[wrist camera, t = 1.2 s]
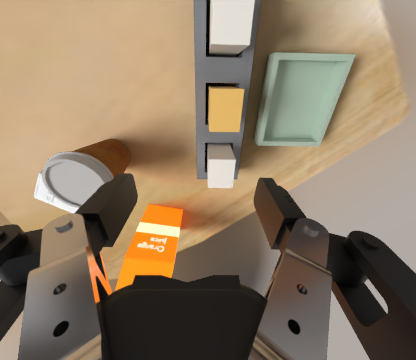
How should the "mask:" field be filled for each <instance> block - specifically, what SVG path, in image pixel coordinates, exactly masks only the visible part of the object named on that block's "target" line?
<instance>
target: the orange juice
mask: <svg viewBox="0 0 416 360" xmlns="http://www.w3.org/2000/svg"><path fill="white" fill-rule="evenodd" d="M182 213H183V210H182V209H176V208H169V207H163V206H156V205H150V204H148V207H147V209H146V211H145V213H144V215H143V218H142V220H141V222H140V224H139V226H138V228H137V230H136V233H135V236H134V238H133V240H132V242H131V244H130V247H129V249H128V251H127V253H126V256H125V258H124V262H123V265H122V269H121V272H120V276H119V279H118V283H117V287H116V290H118V289H120V288H122V287H125V286H127V285H130V284H132V283H133V280H134V277H135V275H163V276H166V277H170V278H171V277H172V272H173V266H174V261H175V255H176V249H177V243H178V238H179V232H180V225H181V219H182ZM116 290H115V291H116Z"/></svg>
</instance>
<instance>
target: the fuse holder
mask: <svg viewBox="0 0 416 360" xmlns="http://www.w3.org/2000/svg"><path fill="white" fill-rule="evenodd" d="M260 3H261V0H255V3H254V11H253V20H252V28H251V37H250V45H249V46H248V47H246V48H245V49H244V50H243V51H241V52H240V53H239V54H238V58H230V57H206V6H210V0H194V44H195V94H196V145H197V179H208V175H207V164H205V143H230V146H231V148H232V151H233V154H234V156H235V159H236V163H235V171H234V179H237V177H238V170H239V162H240V155H241V147H242V139H243V132H244V124H245V117H246V109H247V101H248V94H249V86H250V79H251V71H252V63H253V56H254V48H255V41H256V33H257V26H258V18H259V10H260ZM206 83H235V87H237V88H242V89H244V96H243V105H242V113H241V122H240V130H239V132H209V124H208V120H205V90H206Z"/></svg>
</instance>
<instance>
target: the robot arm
mask: <svg viewBox="0 0 416 360" xmlns="http://www.w3.org/2000/svg"><path fill="white" fill-rule="evenodd" d="M137 198H138V195H137V190H136V186H135V181H134V177H133V175H132V174H126V173H118V174H117V175H116V176H115V177H114V178H113V179H112V180H111V181H108V182H106V183H105V184H103V185H101V186H100V187H99V188H98V189H97V190H96V192H94V193H93V194H92V195H91V197H90V198H89V199H88V200H87V201H86V202H85V203H84V204H83V205H82V206H81V207H80V208H79V209H78V210H77V211H76V212H75V213H74V214H67V215H63V216H61V217H58V218H56V219H54V220H53V221H51V222H50V223H48V224H47V225H46V226H45V227H44V229H40V230H35V231H30V232H25V233H24V232H23V230H22V229H21V228H20V227H19V226H18V225H5V226H0V279H1V282H0V341H1V340H2V338H3V337H4V336H5V334H6V333H7V331H8V330H9V329H10V327H11V326H12V325H13V323H14V322H15V321H16V319H17V318H18V316H19V315H20V314H21V312H22V311H23V310H24V313H23V322H22V329H21V337H20V346H19V353H18V360H327V346H328V331H329V317H330V302H331V301H330V300H331V289H332V291H333V293H334V295H335V296H336V299H337V300H338V302H339V304H340V306H341V308H342V310H343V311H344V313H345V315H346V317H347V319H348V320H349V322H350V324H351V326H352V327H353V329H354V331H355V333H356V335H357V337H358V339H359V340H360V342H361V344H362V346H363V348H364V350H365V351H366V353H367V355H368V357H369V359H370V360H416V273H415V272H413V271H412V270H411V269H410V268H409V267H408V266H407V265H406V264H405V263H404V262H403V261H402V260H401V259H400V258H399V257H398V256H397V255H396V254H395V253H394V252H393V251H392V250H391V249H390V248H389V247H388V246H387V245H386V244H385V243H384V242H382V241H381V240H379V239H378V238H376V237H375V236H373V235H370V234H368V233H365V232H362V231H352V232H351V233H350V234H349V235H348V236H347V238H346V237H342V236H339V235H335V234H331V233H329V232H328V231H327V229H326V228H325V227H324V226H323V225H321V224H320V223H318V222H316V221H314V220H312V219H308V218H306V216H305V215H304V213H303V212H302V211H301V209H300V208H299V207H298V205H297V204H296V203H295V202H294V200H293V198H291V196H290V195H289V193H288V192H287V191H286V190H285V189H284V188H282V187H281V186H277V184H276V183H275V181H274V180H273V179H272V178H259V180H258V183H257V187H256V191H255V195H254V206H255V209H256V211H257V214H258V216H259V219H260V221H261V224H262V226H263V229H264V231H265V234H266V237H267V239H268V242H269V244H270V247H271V249H279V250H280V252H281V255H280V257H279V259H278V262H277V264H276V267H275V269H274V272H273V275H272V277H271V280H270V283H269V285H268V287H267V290H266V292H265V294H264V297H263V296H262V295H260V294H259V293H258V292H257V291H255V290H253V289H251V288H250V287H247V286H245V285H242V284H240V280H239V275H233V276H232V275H213V276H209V277H206V278H202V279H198V280H195V281H191V282H183V281H180V280H176V279H173V278H170V277H166V276H163V275H135V277H134V280H133V283H132V284H130V285H127V286H125V287H122V288H120V289H118V290H116V291H114V292H113V293H112V291H111V288H110V286H109V282H108V278H107V274H106V270H105V266H104V262H103V259H102V255H101V253H100V251H101V250H102V248H103V247H113V245H114V243H115V241H116V240H117V238H118V236H119V234H120V232H121V230H122V229H123V227H124V225H125V223H126V221H127V219H128V218H129V216H130V214H131V212H132V210H133V208H134V207H135V205H136V203H137ZM367 279H369V280H370V281H371V283H372V284H373V285H374V287H375V288H376V289H377V290H378V292H379V293H380V294H381V296H382V297H383V298H384V300H385V302H386V304H387V306H388V314H387V313H386V312H385V311H384V310H383V308H382V307H381V305H380V304H379V303H378V301H377V300H376V299H375V297H374V296H373V294H372V293H371V291H370V290H369V289H368V287H367V286H366V285H365V283H364V282H365V281H366V280H367Z"/></svg>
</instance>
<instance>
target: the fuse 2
mask: <svg viewBox="0 0 416 360" xmlns="http://www.w3.org/2000/svg"><path fill="white" fill-rule="evenodd" d="M235 163H236V159H235V156H234V154H233V151H232V148H231V146H230V143H207V175H208V188H233V180H234V171H235Z"/></svg>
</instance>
